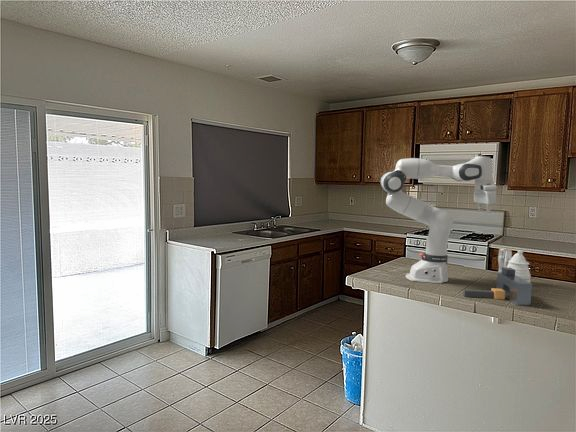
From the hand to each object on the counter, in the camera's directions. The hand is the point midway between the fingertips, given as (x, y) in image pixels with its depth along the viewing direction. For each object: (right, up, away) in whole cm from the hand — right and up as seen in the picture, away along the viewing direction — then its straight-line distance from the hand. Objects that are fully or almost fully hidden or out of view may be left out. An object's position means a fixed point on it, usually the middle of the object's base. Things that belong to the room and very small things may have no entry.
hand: (484, 211), depth 220 cm
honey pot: (+20, -39, +4) cm, 44 cm away
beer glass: (+22, -37, +22) cm, 49 cm away
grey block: (+1, -41, -25) cm, 49 cm away
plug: (-12, -41, -25) cm, 49 cm away
